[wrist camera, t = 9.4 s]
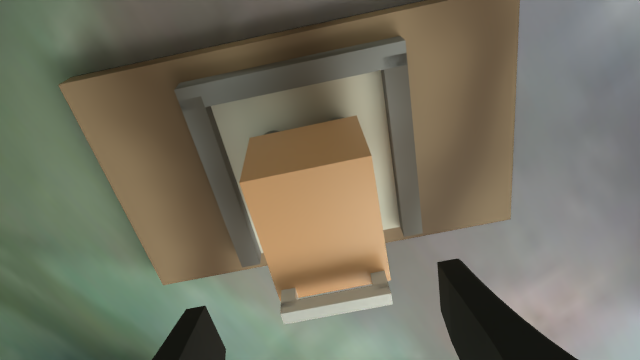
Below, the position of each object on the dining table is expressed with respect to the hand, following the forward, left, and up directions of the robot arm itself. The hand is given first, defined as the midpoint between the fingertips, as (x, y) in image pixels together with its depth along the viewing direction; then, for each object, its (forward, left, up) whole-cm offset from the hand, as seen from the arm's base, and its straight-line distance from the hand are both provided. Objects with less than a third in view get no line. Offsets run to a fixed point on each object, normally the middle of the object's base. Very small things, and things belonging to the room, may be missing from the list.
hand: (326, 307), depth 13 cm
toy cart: (0, 0, -9) cm, 9 cm away
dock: (0, +1, -10) cm, 10 cm away
